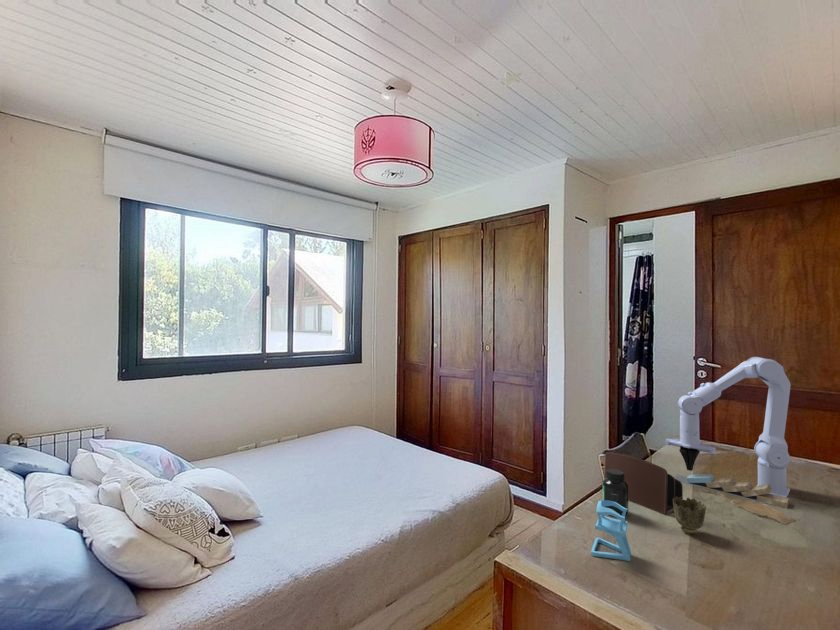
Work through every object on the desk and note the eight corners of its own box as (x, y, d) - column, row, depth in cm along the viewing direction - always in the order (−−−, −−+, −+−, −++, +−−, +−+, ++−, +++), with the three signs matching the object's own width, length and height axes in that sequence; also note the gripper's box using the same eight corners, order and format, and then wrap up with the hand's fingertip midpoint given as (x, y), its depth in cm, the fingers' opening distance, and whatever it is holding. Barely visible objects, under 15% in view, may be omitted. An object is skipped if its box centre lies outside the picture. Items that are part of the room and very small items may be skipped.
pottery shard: (779, 529, 111) (779, 522, 111) (725, 503, 127) (725, 498, 127) (802, 526, 113) (801, 519, 113) (746, 501, 128) (746, 495, 128)
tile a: (705, 482, 137) (729, 481, 132) (709, 479, 140) (732, 477, 135) (707, 487, 136) (731, 486, 132) (711, 484, 140) (734, 482, 135)
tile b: (722, 487, 134) (747, 485, 129) (725, 483, 137) (750, 481, 132) (724, 492, 133) (749, 490, 128) (727, 488, 136) (752, 486, 131)
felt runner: (677, 475, 149) (677, 474, 149) (770, 498, 129) (770, 497, 129) (671, 480, 144) (671, 479, 144) (767, 505, 125) (767, 503, 125)
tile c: (741, 491, 130) (766, 488, 125) (744, 487, 133) (768, 483, 128) (743, 497, 129) (769, 493, 125) (746, 493, 132) (771, 489, 128)
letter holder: (666, 516, 118) (666, 467, 118) (603, 491, 135) (603, 449, 135) (683, 507, 124) (683, 461, 124) (621, 485, 140) (620, 444, 140)
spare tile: (686, 478, 141) (709, 477, 136) (690, 474, 144) (712, 474, 139) (687, 482, 141) (711, 482, 136) (691, 479, 144) (714, 478, 139)
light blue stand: (629, 566, 94) (629, 514, 94) (590, 555, 98) (590, 505, 98) (632, 550, 100) (632, 501, 100) (595, 540, 105) (596, 493, 105)
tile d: (756, 495, 127) (786, 502, 122) (759, 491, 130) (788, 498, 125) (756, 500, 127) (787, 508, 122) (759, 496, 130) (788, 503, 125)
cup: (701, 527, 111) (700, 498, 111) (710, 541, 104) (710, 510, 104) (669, 523, 114) (669, 494, 114) (676, 536, 107) (676, 506, 107)
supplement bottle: (599, 512, 120) (599, 471, 120) (607, 505, 125) (607, 465, 125) (624, 520, 115) (623, 477, 115) (631, 512, 120) (631, 471, 120)
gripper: (662, 428, 145) (662, 466, 145) (711, 437, 134) (712, 478, 134) (669, 425, 150) (669, 462, 150) (716, 433, 139) (717, 473, 139)
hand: (689, 469), depth 142 cm, fingers closed
